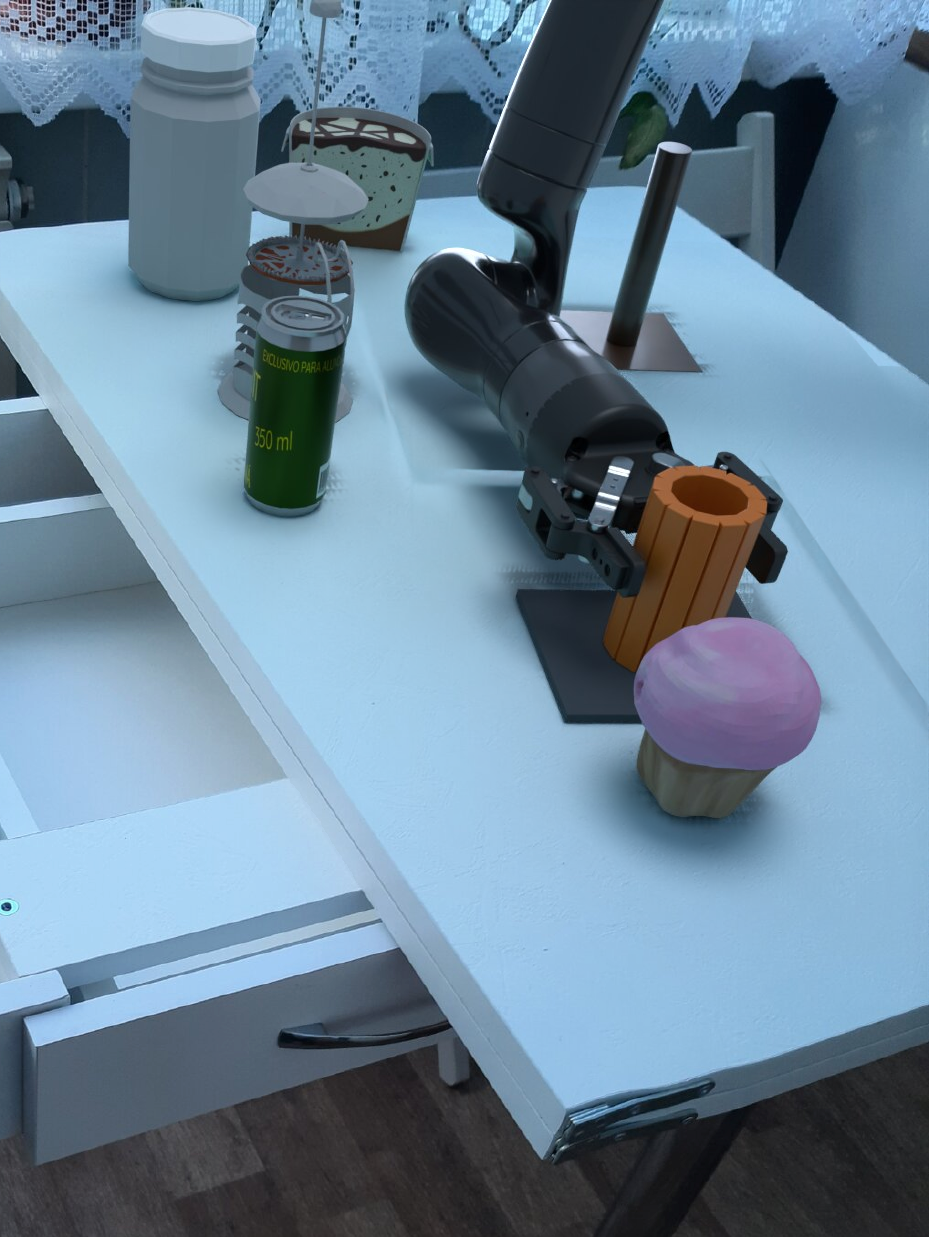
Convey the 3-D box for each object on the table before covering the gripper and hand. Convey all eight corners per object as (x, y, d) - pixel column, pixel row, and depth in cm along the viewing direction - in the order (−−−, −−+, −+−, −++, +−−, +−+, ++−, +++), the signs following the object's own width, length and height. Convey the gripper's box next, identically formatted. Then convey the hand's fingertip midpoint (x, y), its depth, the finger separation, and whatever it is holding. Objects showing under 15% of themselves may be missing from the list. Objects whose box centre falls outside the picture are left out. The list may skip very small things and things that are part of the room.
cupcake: (742, 744, 76) (810, 590, 69) (792, 856, 70) (872, 700, 63) (585, 740, 75) (637, 583, 68) (621, 852, 70) (682, 694, 62)
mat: (733, 599, 86) (736, 590, 86) (804, 722, 78) (808, 714, 78) (515, 597, 84) (517, 588, 84) (564, 723, 76) (567, 714, 76)
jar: (108, 290, 109) (109, 29, 96) (152, 245, 116) (159, -4, 103) (225, 316, 108) (243, 55, 95) (263, 269, 114) (285, 19, 101)
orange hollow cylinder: (643, 606, 84) (695, 454, 76) (726, 655, 81) (788, 501, 74) (583, 642, 81) (631, 487, 73) (667, 694, 78) (725, 538, 71)
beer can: (328, 482, 92) (352, 301, 83) (319, 524, 88) (343, 340, 79) (248, 470, 92) (264, 289, 83) (236, 512, 88) (251, 327, 80)
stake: (659, 328, 112) (719, 126, 102) (698, 387, 106) (767, 177, 95) (540, 324, 111) (588, 119, 100) (572, 383, 105) (627, 171, 94)
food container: (413, 238, 121) (433, 113, 114) (417, 267, 117) (438, 139, 110) (273, 225, 121) (284, 98, 114) (271, 253, 117) (283, 123, 109)
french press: (318, 357, 104) (365, -34, 86) (387, 432, 97) (454, 23, 79) (197, 371, 101) (219, -31, 83) (259, 450, 94) (297, 29, 76)
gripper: (487, 377, 81) (607, 526, 71) (702, 364, 84) (847, 504, 74) (462, 492, 86) (571, 647, 76) (665, 476, 90) (796, 621, 79)
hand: (707, 576), depth 75 cm, fingers open, 8 cm apart
